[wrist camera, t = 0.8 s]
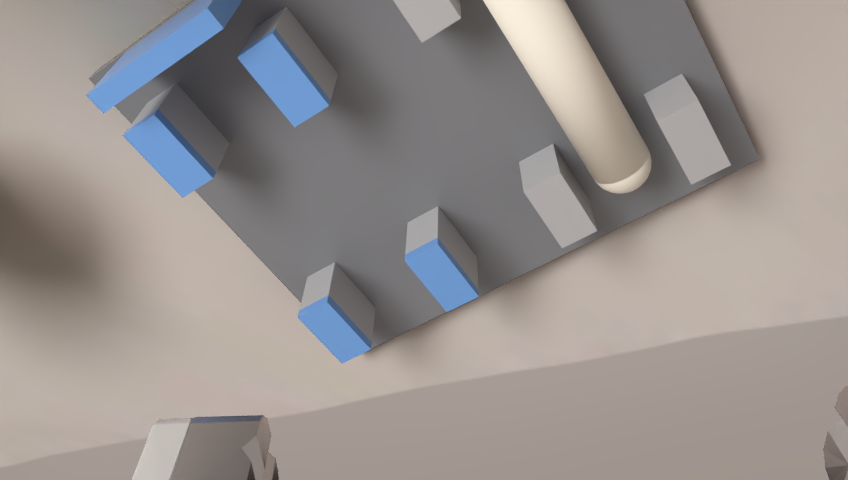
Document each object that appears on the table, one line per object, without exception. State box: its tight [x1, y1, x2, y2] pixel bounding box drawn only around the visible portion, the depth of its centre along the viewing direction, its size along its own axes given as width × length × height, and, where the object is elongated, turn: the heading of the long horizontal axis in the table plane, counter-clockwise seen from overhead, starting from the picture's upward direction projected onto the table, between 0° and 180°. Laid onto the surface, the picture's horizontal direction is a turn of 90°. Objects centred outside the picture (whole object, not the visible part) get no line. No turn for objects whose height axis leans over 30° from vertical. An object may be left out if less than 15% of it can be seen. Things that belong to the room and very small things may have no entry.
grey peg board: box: [86, 0, 760, 363], centre depth 38 cm, size 26×22×6 cm
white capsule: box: [483, 0, 652, 194], centre depth 36 cm, size 16×3×3 cm, turn 33°
